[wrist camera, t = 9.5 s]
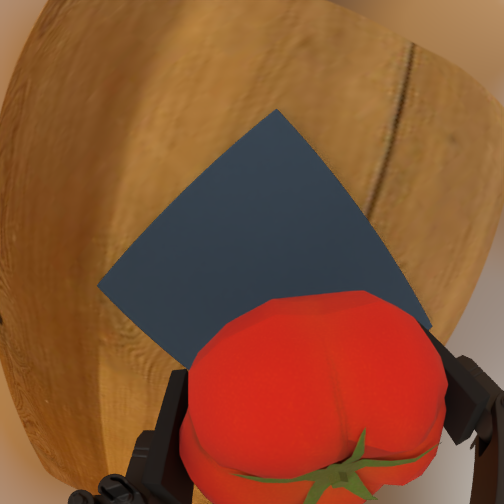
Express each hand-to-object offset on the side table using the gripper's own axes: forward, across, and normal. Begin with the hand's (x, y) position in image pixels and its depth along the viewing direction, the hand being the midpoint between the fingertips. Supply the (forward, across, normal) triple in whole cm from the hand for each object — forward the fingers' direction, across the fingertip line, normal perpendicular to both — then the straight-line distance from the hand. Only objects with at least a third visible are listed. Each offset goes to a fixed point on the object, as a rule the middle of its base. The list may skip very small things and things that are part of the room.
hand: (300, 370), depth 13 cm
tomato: (0, 0, 0) cm, 0 cm away
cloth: (+6, 0, 0) cm, 6 cm away
